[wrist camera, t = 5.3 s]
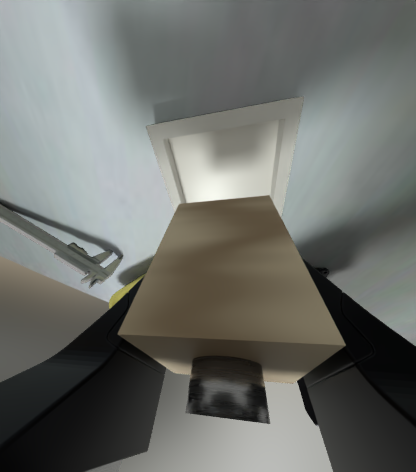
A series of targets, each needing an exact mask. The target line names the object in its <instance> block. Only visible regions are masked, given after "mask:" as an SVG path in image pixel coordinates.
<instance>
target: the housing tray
mask: <svg viewBox="0 0 416 472" xmlns="http://www.w3.org/2000/svg"><path fill="white" fill-rule="evenodd" d="M303 101H304V96H303V97H296V98H290V99H284V100H279V101H274V102H268V103H263V104H258V105H253V106H247V107H242V108H237V109H231V110H226V111H221V112H215V113H210V114H205V115H200V116H194V117H189V118H184V119H178V120H173V121H168V122H162V123H157V124H153V125H149V126H146V128H147V131H148V134H149V137H150V140H151V143H152V146H153V149H154V152H155V155H156V158H157V161H158V164H159V167H160V170H161V173H162V176H163V179H164V182H165V185H166V188H167V191H168V194H169V197H170V200H171V203H172V206H173V209H174V212H175V211H176V209H177V207H178V205H179V204H182V203H193V202H203V201H214V200H224V199H235V198H245V197H255V196H266V195H270V197H271V199H272V201H273V203H274V205H275V207H276V209H277V211H278V213H279V215H280V217H282V212H283V206H284V201H285V196H286V191H287V185H288V180H289V175H290V169H291V164H292V159H293V154H294V148H295V143H296V138H297V132H298V127H299V122H300V117H301V111H302V106H303Z"/></svg>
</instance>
